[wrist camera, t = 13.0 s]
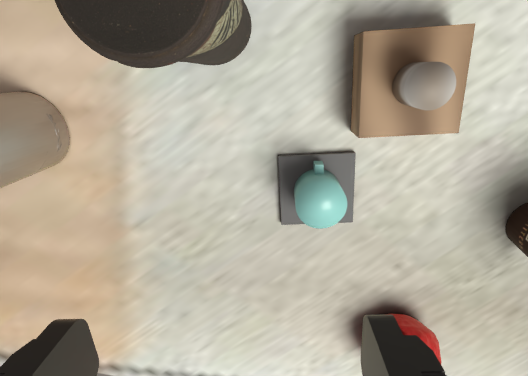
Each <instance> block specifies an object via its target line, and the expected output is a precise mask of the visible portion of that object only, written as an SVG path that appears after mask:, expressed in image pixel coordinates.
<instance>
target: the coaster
mask: <svg viewBox="0 0 528 376" xmlns="http://www.w3.org/2000/svg"><path fill="white" fill-rule="evenodd" d="M278 160H279V181H280V203H281V225H288V224H305V223H304V222H302V221H301V219H300V218H299V217H298V215H297V212H296V206H295V197H294V187H295V183H296V181H297V180H298V178H299V177H300V176H301V175H302V174H303V173H305V172H307V171H309V170H312V169H313V161H322V162H323V164H324V170H327V171H329V172H331V173H332V174H333V175H334V176H335V177H336V178H337V180H338V182H339V184H340V186H341V188H342V189H343V191H344V193H345V195H346V198H347V210H346V213H345V215H344V216H343V218H342V219H341V220H340V221H339V222H338V223H345V222H353V201H354V176H355V152H339V153H318V154H298V155H278Z"/></svg>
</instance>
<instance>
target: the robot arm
mask: <svg viewBox="0 0 528 376" xmlns="http://www.w3.org/2000/svg"><path fill="white" fill-rule="evenodd" d="M69 140H70V137H69V131H68V127H67V125H66V122H65V120H64V118H63V117H62V115H61V113H60V112H59V111H58V110H57V109H56V108H55V106H53V105H52V104H51V103H50V102H49V101H47V100H46V99H44V98H42V97H41V96H39V95H36V94H33V93H29V92H23V91H22V92H9V93H0V188H2V187H4V186H7V185H9V184H11V183H14V182H16V181H19V180H21V179H23V178H26V177H28V176H31V175H33V174H35V173H38V172H40V171H42V170H45V169H47V168H49V167H52V166H54V165H56V164H57V163H59V162H60V161H61V160H62V159H63V158H64V157H65V155H66V153H67V151H68V148H69ZM98 367H99V358H98V354H97V351H96V348H95V345H94V342H93V339H92V336H91V333H90V329H89V326H88V324H87V322H86V321H85V320H84V319H58V320H54V321H53V322H51V323H50V324H49V325H48V326H47V327H46V329H45V330H44V331H43V332H42V333H41V334H40V335H39V336H38V337H37V339H33V340H32V341H30V342H29V343H27V344H26V345H25V346H23V347H22V348H21V349H19V350H18V351H16V352H15V353H14V354H12V355H11V356H10V357H9V358H8V360H7V361H6V362H5V363H4V364H3V365H2V366H1V367H0V376H97V372H98ZM361 367H362V374H363V376H447V375H445V371H444V369H443V368H442V366H441V364H440V362H439V360H438V359H437V357H436V355H435V353H434V351H433V350H432V349H430V348H429V347H428V346H427V345H426V344H425V343H424V342H423V341H422V340H421V339H420V338H419V337H418V336H417V335H403V333H402V331H401V329H400V327H399V325H398V323H397V321H396V319H395V317H394V316H393V315H364V318H363V329H362V345H361Z"/></svg>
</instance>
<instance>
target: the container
mask: <svg viewBox="0 0 528 376" xmlns="http://www.w3.org/2000/svg"><path fill="white" fill-rule="evenodd" d="M55 2H56V5H57V7H58V9H59V11H60V13H61V15H62V16H63V18H64V20H65V21H66V23H67V24H68V26H69V27H70V28H71V29H72V31H73V32H74V33H75V34H76V35H77V36H78V37H79V38H80V39H81V40H82V41H83V42H84V43H85V44H86V45H88V46H89V47H90V48H91V49H93V50H94V51H96V52H97V53H99V54H100V55H102V56H104V57H106V58H108V59H111V60H114V61H118V62H119V63H121V64H124V65H127V66H131V67H136V68H156V67H162V66H167V65H170V64H173V63H176V62H190V63H198V64H204V65H220V64H224V63H227V62H229V61H231V60H233V59H234V58H236V57H237V56H238V55H239V54H240V53H241V52H242V51H243V50H244V48H245V47H246V45H247V43H248V41H249V38H250V34H251V17H250V15H249V12H248V9H247V7H246V5H245V3H244V1H243V0H55Z"/></svg>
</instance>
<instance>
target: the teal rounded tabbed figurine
mask: <svg viewBox="0 0 528 376" xmlns="http://www.w3.org/2000/svg"><path fill="white" fill-rule="evenodd" d="M294 197H295V206H296V212H297V215H298V217H299V218H300V219H301V221H302V222H304V223H305V224H306V225H308V226H310V227H313V228H327V227H331V226H333V225H335V224H336V223H338V222H339V221H340V220H341V219H342V218H343V216H344V215H345V213H346V210H347V198H346V195H345V193H344V191H343V189H342V188H341V186H340V184H339V182H338V180H337V178H336V177H335V176H334V175H333V174H332V173H331V172H329V171H327V170H324V164H323V162H322V161H313V169H312V170H309V171H307V172H305V173H303V174H302V175H301V176H300V177H299V178H298V180H297V181H296V183H295V187H294Z"/></svg>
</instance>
